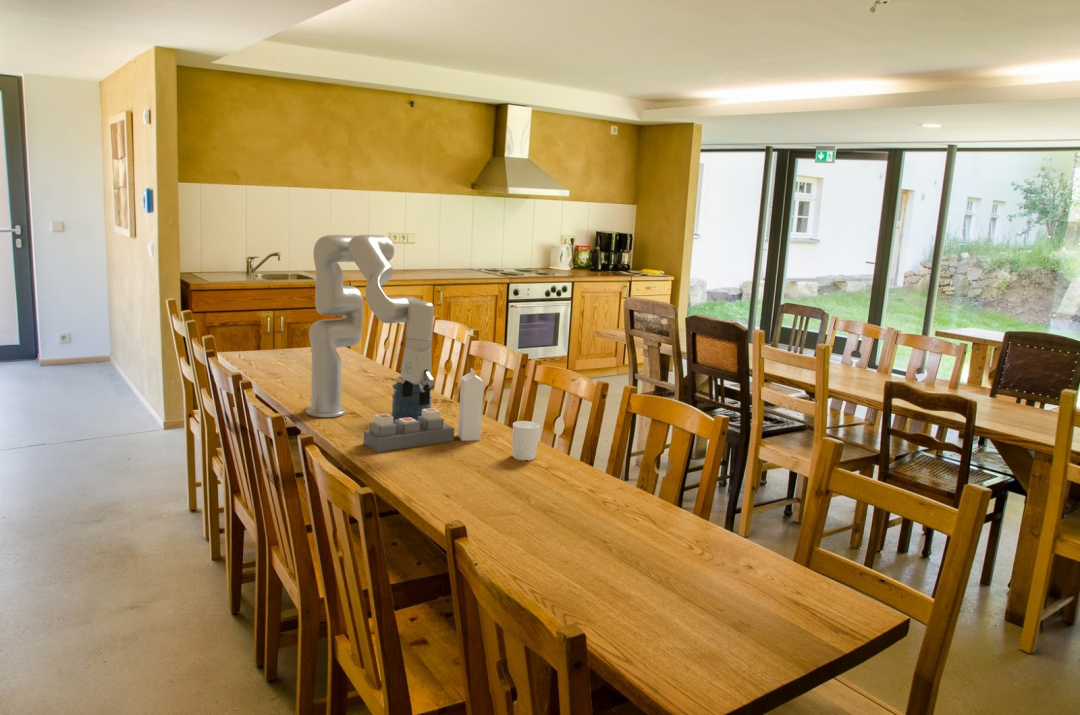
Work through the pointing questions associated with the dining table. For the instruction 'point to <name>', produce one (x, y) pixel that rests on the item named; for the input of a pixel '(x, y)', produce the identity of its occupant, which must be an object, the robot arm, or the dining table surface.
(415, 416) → the canister
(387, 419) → the button
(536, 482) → the dining table surface
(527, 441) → the white cup
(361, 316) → the robot arm
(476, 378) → the milk
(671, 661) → the dining table surface
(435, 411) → the button
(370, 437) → the button panel
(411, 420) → the button
